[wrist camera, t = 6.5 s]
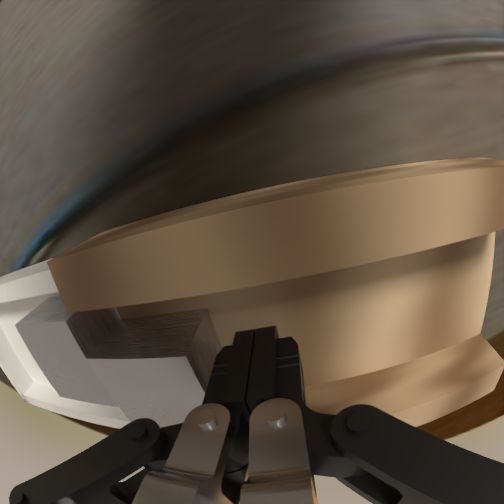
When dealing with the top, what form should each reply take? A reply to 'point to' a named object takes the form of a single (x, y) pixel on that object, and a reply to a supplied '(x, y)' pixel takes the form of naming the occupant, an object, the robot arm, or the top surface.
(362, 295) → the slot board
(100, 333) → the chip
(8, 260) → the top surface
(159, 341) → the chip
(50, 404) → the tray
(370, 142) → the top surface
